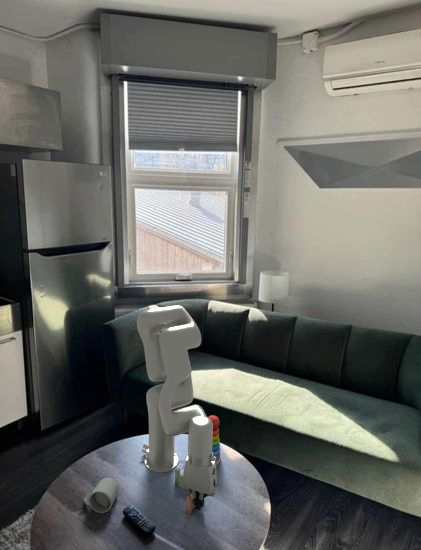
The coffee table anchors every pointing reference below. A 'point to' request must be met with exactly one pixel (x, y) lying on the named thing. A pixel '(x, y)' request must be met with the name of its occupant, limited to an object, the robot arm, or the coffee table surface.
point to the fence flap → (189, 504)
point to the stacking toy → (215, 439)
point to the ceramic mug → (103, 495)
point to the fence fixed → (179, 478)
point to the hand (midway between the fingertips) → (198, 506)
